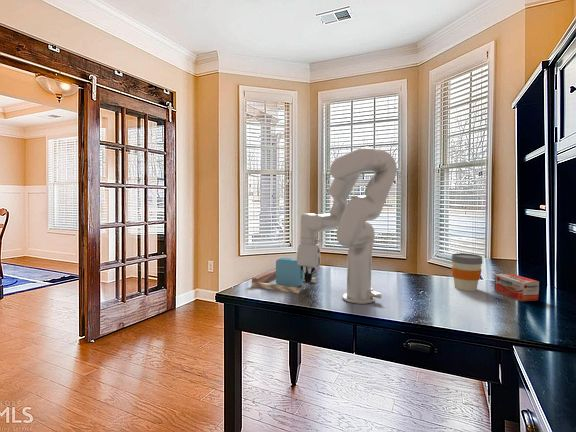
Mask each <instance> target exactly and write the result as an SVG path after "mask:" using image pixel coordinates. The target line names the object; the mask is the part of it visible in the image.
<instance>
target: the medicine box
mask: <svg viewBox="0 0 576 432" xmlns="http://www.w3.org/2000/svg"><path fill="white" fill-rule="evenodd" d="M494 278H495V279H494V292H496V293H498V294H501V295H503V296H507V297H509V298H512V299H515V300H517V301H519V302H530V301H532V302H533V301H534V302H535V301H539V294H540V293H539V291H540V281H539V280H535V279H532V278H528V277H525V276H522V275H518V274H515V273H498V274H497V273H496V274H495V277H494Z"/></svg>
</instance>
